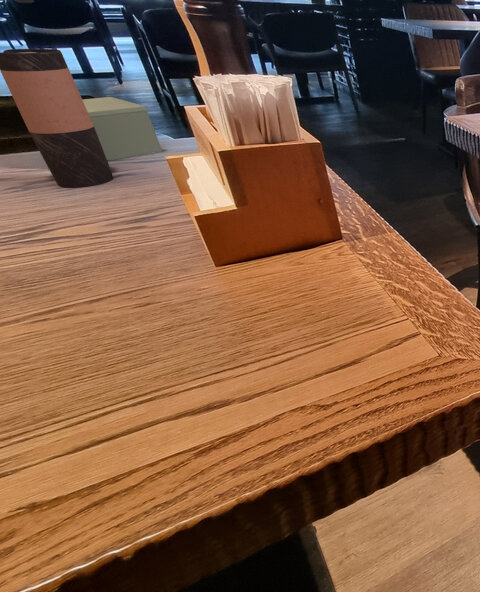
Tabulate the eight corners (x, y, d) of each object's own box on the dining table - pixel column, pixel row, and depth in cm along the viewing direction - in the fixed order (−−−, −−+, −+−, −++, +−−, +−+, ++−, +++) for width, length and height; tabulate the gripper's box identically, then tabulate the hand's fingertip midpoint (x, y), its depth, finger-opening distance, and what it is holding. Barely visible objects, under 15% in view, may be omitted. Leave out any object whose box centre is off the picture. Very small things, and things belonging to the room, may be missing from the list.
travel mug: (124, 180, 89) (70, 51, 79) (66, 191, 83) (0, 54, 73) (103, 172, 92) (49, 47, 82) (47, 182, 86) (-19, 49, 77)
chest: (89, 170, 92) (66, 119, 88) (57, 157, 99) (34, 108, 95) (164, 157, 101) (147, 110, 97) (130, 146, 108) (112, 101, 103)
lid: (60, 120, 88) (45, 87, 85) (28, 109, 94) (13, 77, 91) (147, 110, 97) (135, 79, 94) (112, 101, 103) (100, 72, 101)
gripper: (-93, -127, 77) (-32, -1, 85) (-65, -135, 71) (-1, 2, 79) (-21, -117, 82) (30, 0, 90) (11, -123, 76) (63, 3, 84)
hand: (15, 1), depth 84 cm, fingers open, 8 cm apart
